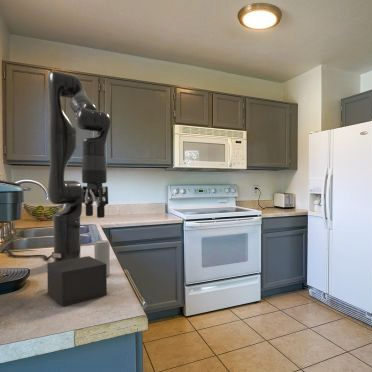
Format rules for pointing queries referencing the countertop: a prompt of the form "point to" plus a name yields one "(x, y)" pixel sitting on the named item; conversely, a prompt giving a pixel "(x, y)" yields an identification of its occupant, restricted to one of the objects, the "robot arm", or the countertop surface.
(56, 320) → the countertop surface
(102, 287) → the dark grey lidded box
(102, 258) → the beverage can
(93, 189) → the robot arm
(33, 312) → the countertop surface
